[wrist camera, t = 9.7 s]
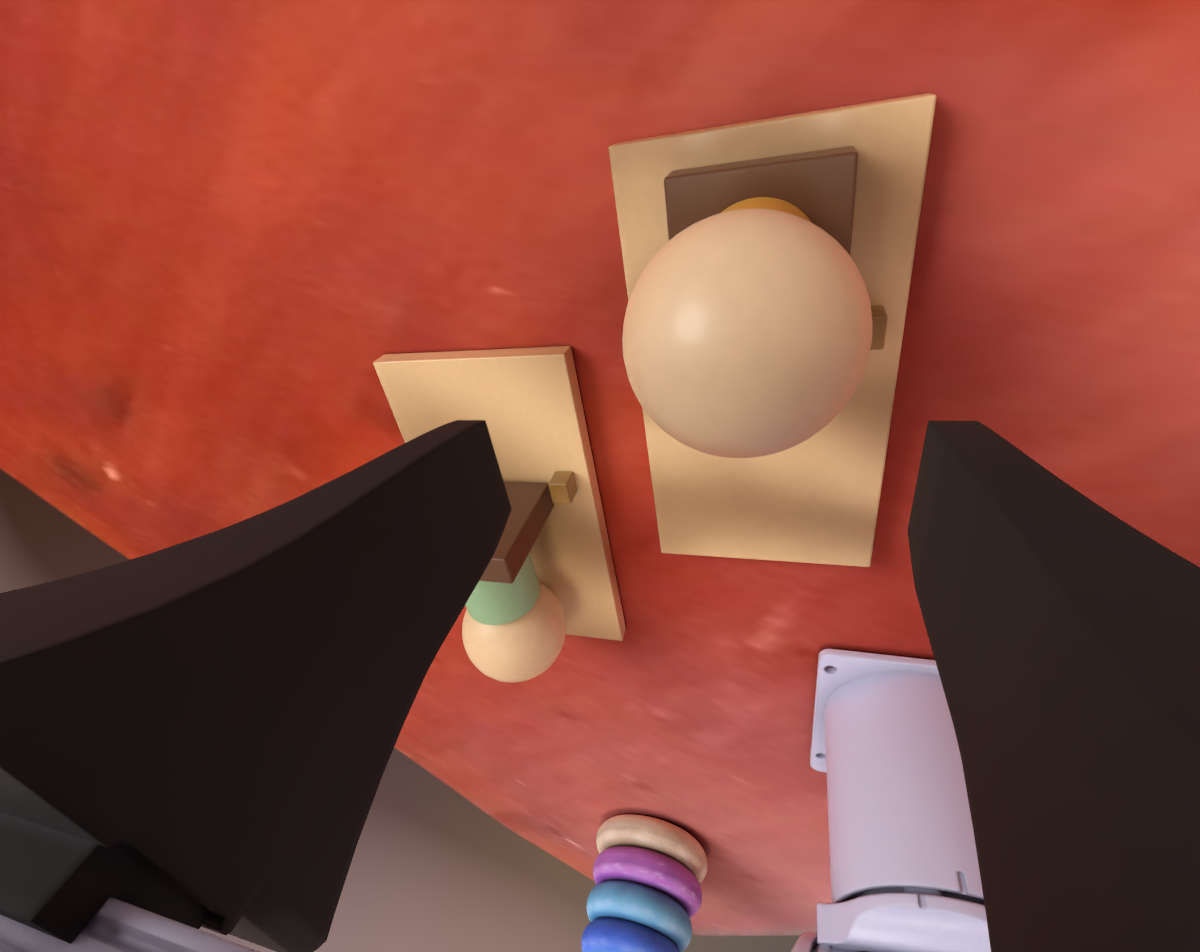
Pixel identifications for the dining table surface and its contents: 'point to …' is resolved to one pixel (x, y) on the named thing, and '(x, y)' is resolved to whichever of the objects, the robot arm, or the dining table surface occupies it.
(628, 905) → the stacking toy
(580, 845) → the dining table surface
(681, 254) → the ochre toy
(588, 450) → the thin cream rectangular board
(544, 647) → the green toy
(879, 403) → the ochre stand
